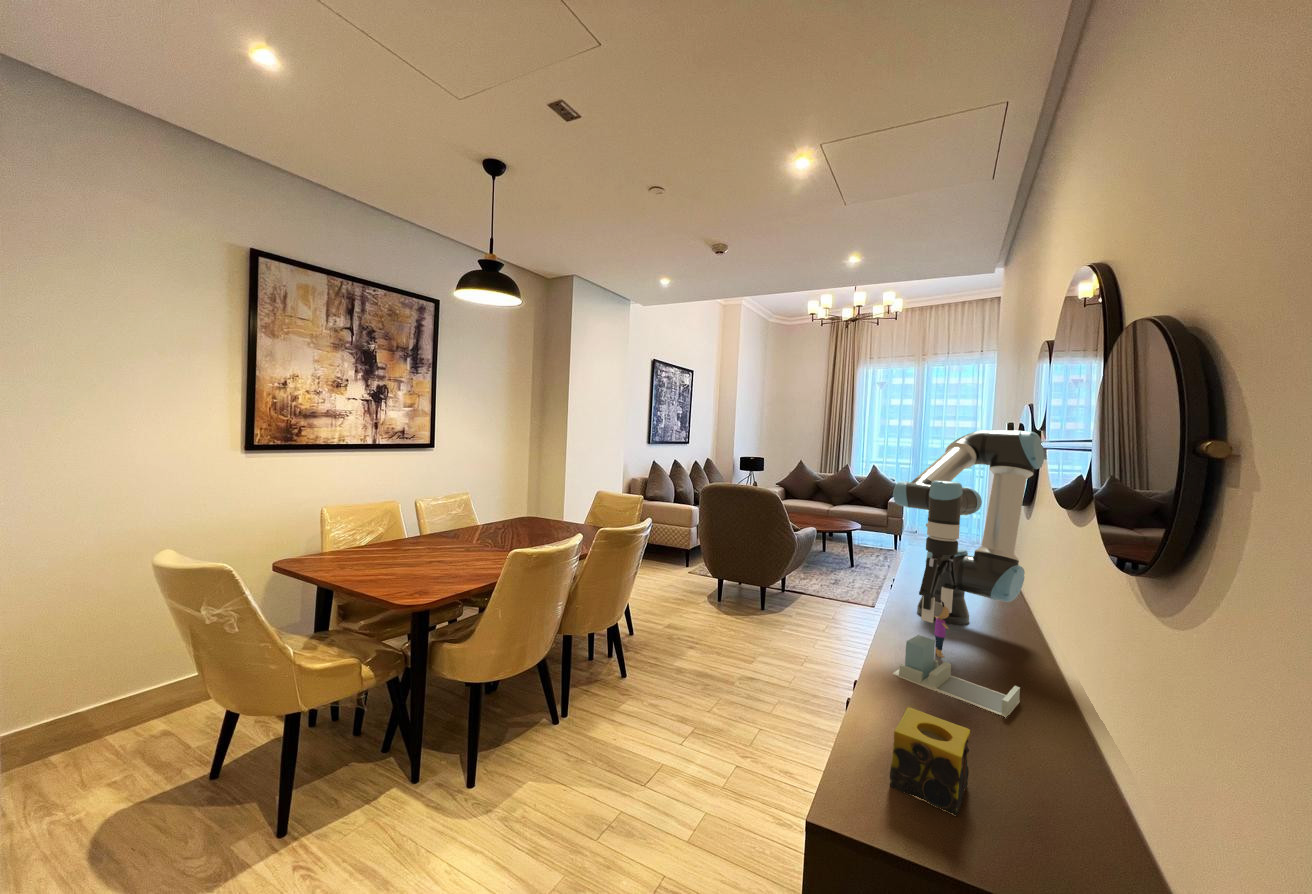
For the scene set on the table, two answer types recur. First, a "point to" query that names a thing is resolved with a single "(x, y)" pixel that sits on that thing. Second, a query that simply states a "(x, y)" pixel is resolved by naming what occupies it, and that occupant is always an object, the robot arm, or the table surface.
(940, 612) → the toy
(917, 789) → the yellow tissue box
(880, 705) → the table surface
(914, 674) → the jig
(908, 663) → the grey-blue block
